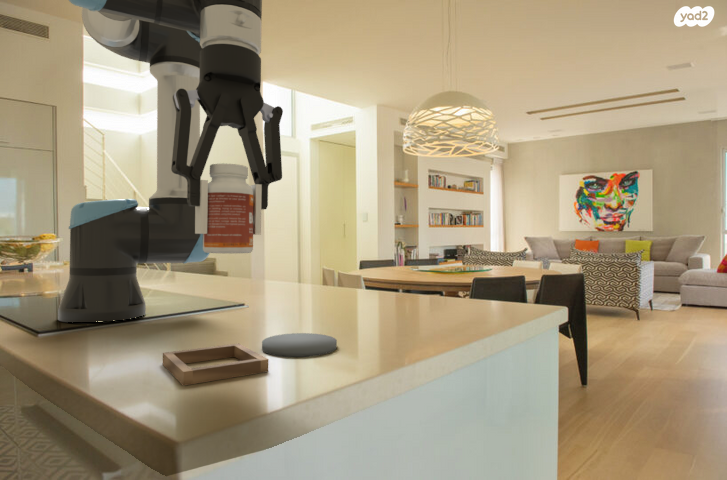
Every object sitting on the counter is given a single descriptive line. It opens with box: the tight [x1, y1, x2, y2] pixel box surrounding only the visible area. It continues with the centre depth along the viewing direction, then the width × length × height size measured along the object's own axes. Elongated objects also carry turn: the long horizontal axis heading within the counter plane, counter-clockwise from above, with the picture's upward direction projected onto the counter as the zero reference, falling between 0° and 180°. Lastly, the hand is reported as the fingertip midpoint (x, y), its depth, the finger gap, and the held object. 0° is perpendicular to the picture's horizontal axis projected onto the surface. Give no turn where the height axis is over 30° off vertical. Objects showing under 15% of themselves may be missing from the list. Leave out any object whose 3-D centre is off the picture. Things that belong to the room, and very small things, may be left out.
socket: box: [162, 343, 269, 387], centre depth 58 cm, size 10×10×2 cm
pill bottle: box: [203, 162, 254, 254], centre depth 59 cm, size 6×6×11 cm
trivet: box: [261, 332, 338, 358], centre depth 69 cm, size 11×11×1 cm
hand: (228, 233), depth 60 cm, fingers closed on pill bottle, 6 cm apart
